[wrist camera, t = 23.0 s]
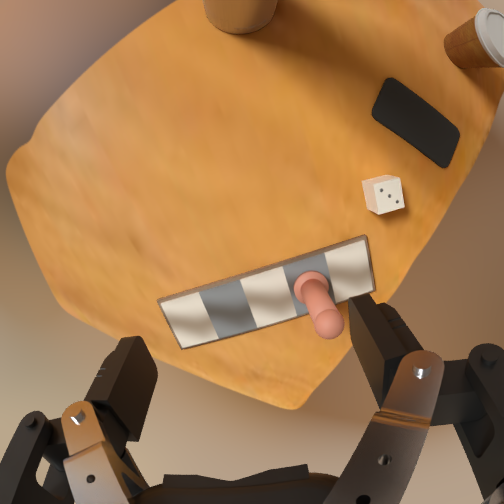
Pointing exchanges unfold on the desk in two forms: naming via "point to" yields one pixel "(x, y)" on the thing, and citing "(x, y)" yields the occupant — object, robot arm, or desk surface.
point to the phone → (416, 122)
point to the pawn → (319, 304)
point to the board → (265, 294)
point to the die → (383, 194)
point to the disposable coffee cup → (478, 41)
